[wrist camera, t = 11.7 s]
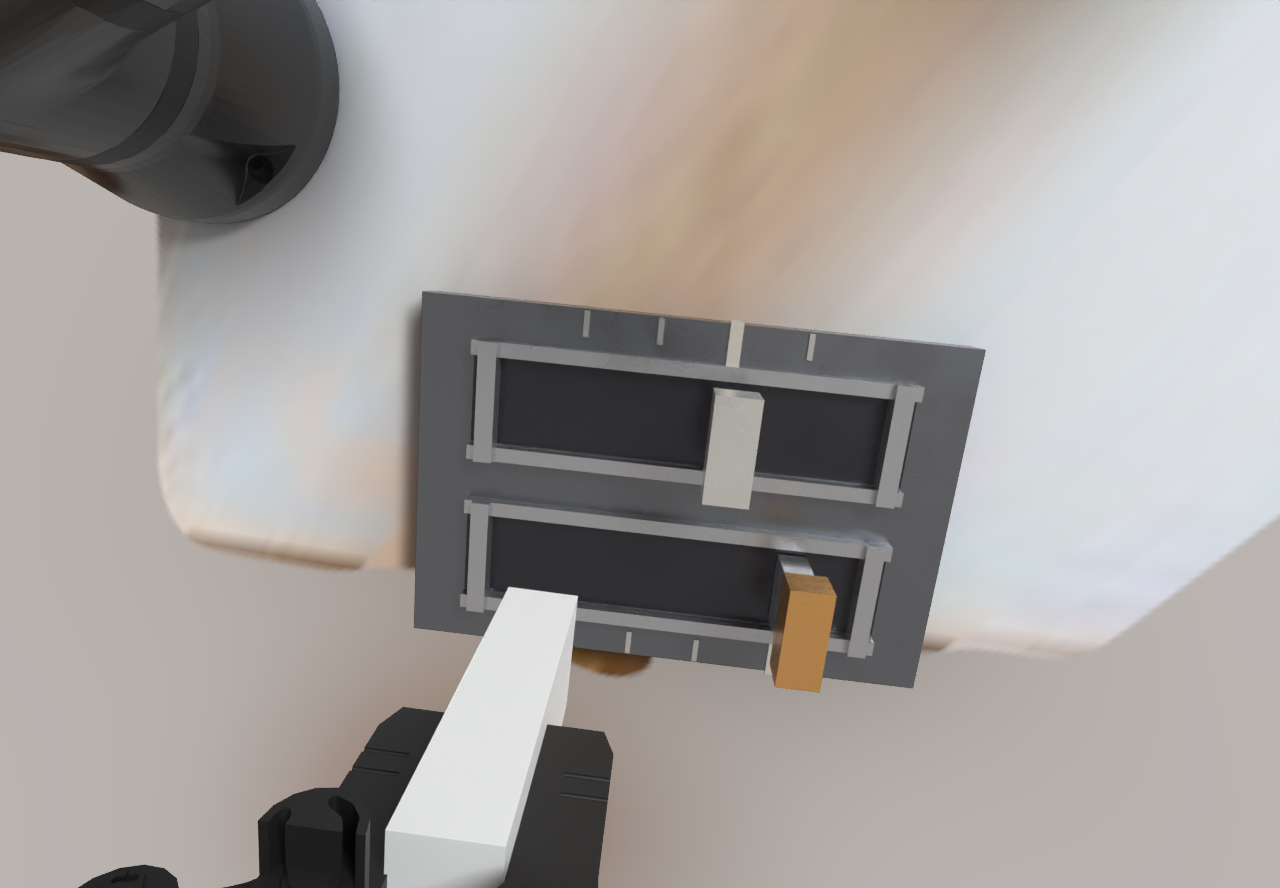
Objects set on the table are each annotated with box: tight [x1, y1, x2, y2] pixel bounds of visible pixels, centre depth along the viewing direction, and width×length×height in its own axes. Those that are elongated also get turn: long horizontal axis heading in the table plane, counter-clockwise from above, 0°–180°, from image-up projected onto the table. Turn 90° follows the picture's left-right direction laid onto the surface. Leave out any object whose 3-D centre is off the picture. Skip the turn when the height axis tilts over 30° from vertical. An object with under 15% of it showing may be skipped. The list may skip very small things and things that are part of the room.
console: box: [414, 291, 986, 688], centre depth 39 cm, size 30×20×3 cm
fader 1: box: [701, 388, 764, 510], centre depth 35 cm, size 2×5×6 cm, turn 174°
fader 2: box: [768, 554, 837, 692], centre depth 37 cm, size 2×5×6 cm, turn 174°
